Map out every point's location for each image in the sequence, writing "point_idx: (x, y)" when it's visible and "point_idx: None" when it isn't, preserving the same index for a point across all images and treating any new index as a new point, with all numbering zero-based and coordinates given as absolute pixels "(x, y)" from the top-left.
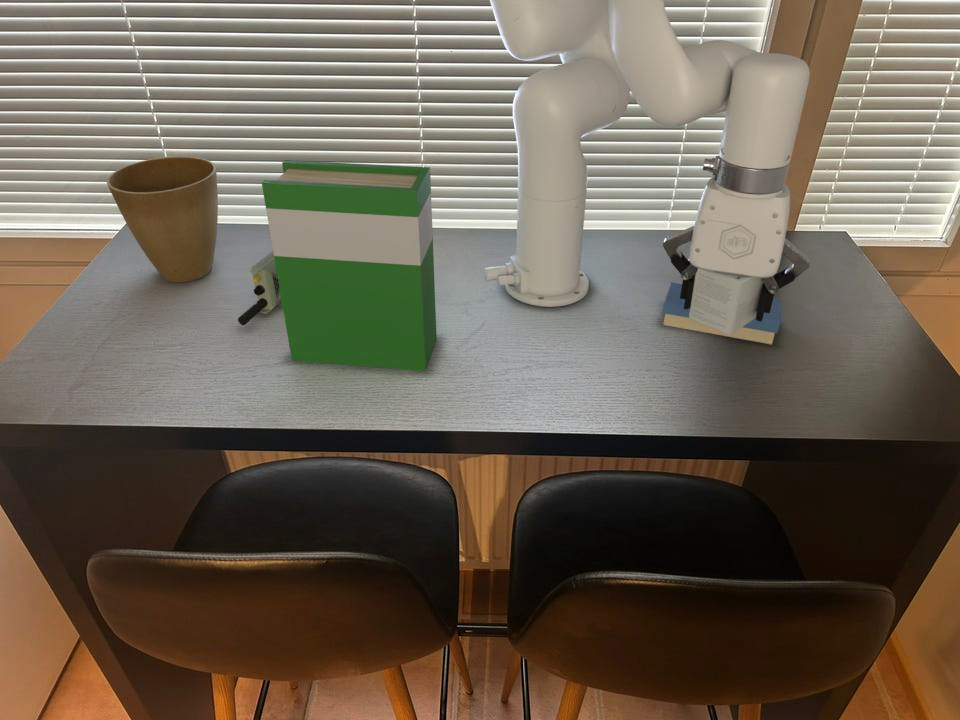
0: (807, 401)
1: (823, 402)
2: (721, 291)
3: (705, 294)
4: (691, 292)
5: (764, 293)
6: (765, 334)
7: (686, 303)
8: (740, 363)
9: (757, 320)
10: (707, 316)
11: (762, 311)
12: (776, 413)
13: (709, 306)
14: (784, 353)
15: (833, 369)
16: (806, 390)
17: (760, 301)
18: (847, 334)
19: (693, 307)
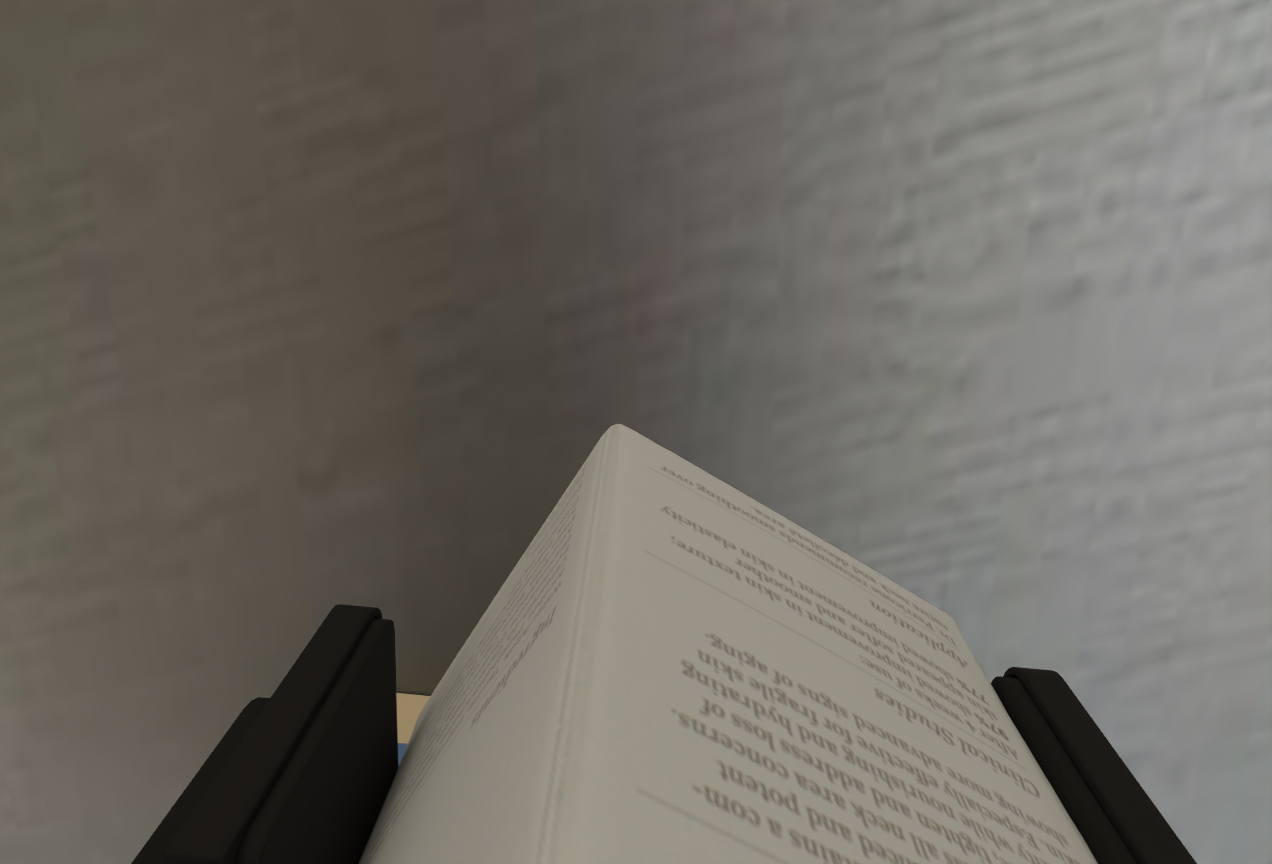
0: (139, 212)
1: (56, 227)
2: (816, 790)
3: (962, 781)
4: (1098, 816)
5: (214, 856)
6: (402, 732)
7: (1064, 707)
8: (525, 493)
9: (377, 612)
10: (836, 582)
11: (307, 670)
12: (291, 26)
13: (861, 652)
14: (310, 631)
15: (61, 549)
16: (160, 322)
17: (304, 765)
18: (52, 834)
19: (975, 680)
